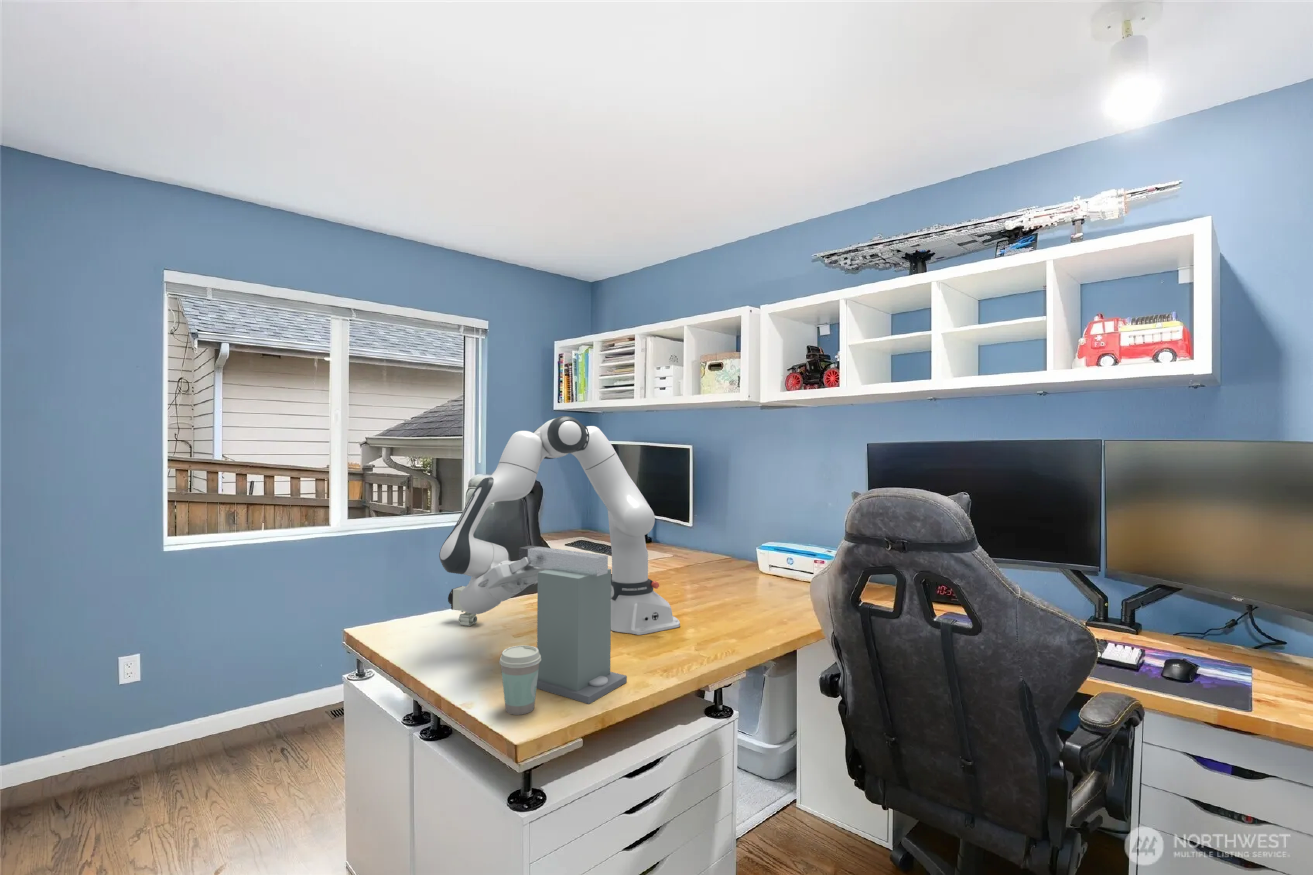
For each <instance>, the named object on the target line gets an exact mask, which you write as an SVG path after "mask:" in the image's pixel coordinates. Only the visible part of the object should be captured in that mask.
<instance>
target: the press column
mask: <svg viewBox="0 0 1313 875" xmlns="http://www.w3.org/2000/svg"><path fill="white" fill-rule="evenodd" d="M611 579H612V568H608V573H607V574H603V575H600V576H591V575H585V574H578V573H572V572H565V571H559V570H552V569H548V570H544V571H540V572H538V583H537V601H536V602H537V605H536V606H537V611H536V612H537V617H536V620H537V622H536V626H537V627H536V634H537V635H536V638H537V639H536V648H538V650H539V654H540V655H541V661H540V662H539V671H538V680H537V688H536V690H537V689H538V690H541V691H544V692H548V693H550V694H554V695H558V696H560V697H564V698H568V699H571V700H575V701H578V702H581V703H584V704H588V705H590V704H592V703H593V702H595V701H597V700H598V698H599V699H600V698H602V697H604V696H605V695H607V694H610V692H612V691H614V690H616V689H617V688H619V687H621V686H623V685H625V684H626V683H627V682H628V676H627V675H625V674H622V673H617V672H615V671H614V672H613V671H611V648H612V647H611V641H612V640H611V639H612V637H611V633H612V630H611Z"/></svg>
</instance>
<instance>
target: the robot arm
mask: <svg viewBox="0 0 1313 875" xmlns="http://www.w3.org/2000/svg"><path fill="white" fill-rule="evenodd" d="M507 441H508V442H507V443H506V445H505V447H504V449H503V451H502V452H501V453H502V454H501V456H500V458H499V461H498V463H497V466H496V469H495V470H494V471H493V472H492V474H491V475H490V476H489V477H488V476H487V477H484V478H483V479H482V480H481V481H479V483H478V485H477V486H476V487H475V489H474V491H473V492H472V494H471V496H470V497H469V499H468V501H467V503H466V504H465V507H464V509H463V510H462V513H461V515H460V516H459V518H458V519H457V522H456V524H455V526H454V527H453V529H452V531H451V532H450V533H449V534H448V536H447V537H446V538H445V540H444V542H443V543H442V546H441V548H440V550H439V555H438V557H439V561H440V563H441V565H442V567H443V569H444V570H445V571H446V572H447V573H451V574H458V575H465V576H469V577H471V578H470V580H469V582H468V584H467V585H466V587H465V588H464V589H463V590H462V592H461V593H460V595H459V602H460V605H461V606H462V608H463V609H464V610H465V611H467V612H469V613H471V614H476V615H480V614H484V613H486V612H488V611H491V610H492V609H494V608H496V607H498V606H500V604H501V603H502V602H505V601H507V600H509V599H511V598H513V597H514V596H516V595H517V594H519V593H521V592H522V591H524V590H526V589H527V588H530V587H533V586H534V585H536V584H538V572H540V571H544V570H548V569H546V568H540V567H533V566H528V565H529V564H531V560H530V557H525V558H523V559H521V560H519V559H518V560H513V561H511V556H510V553H509V551H508V549H507V548H506V547H505V546H502V545H499V544H497V543H493V542H490V541H486V540H484V539H483V540H482V539H479V538H478V537H477V538H476V537H475V536H474V534H475V532H476V530H477V529H478V528H477V527H478V526H479V524H480V522H481V520H482V517H483V516H484V514H485V513H486V510H487V509H488V508H489V507H490V506H491V505H492V504H494V503H498V502H508V501H510V502H511V501H517V500H520V499H522V498H525V497H526V496H527V495H528V494H530V492H531V491H532V490H533V487H534V486H535V482H536V480H537V476H538V474H539V470H540V466H541V463H542V462H543V461H544V459H546V460H553V459H556V458H557V459H558V458H563V457H565V456H567V455H569V454H570V455H572V456H574V457H575V458H576V460H577V461H578V462H579V464H580V466H581V468H582V469H583V471H584V473H585V475H586V477H587V478H588V480H589V482H590V484H591V485H592V488H593V490H594V491H595V493H596V495H597V496H598V497H599V499H600V500H601V501H602V503H603V504H604V505H605V507H606V509H607V516H608V528H609V540H610V547H611V548H610V549H611V631H613V632H618V633H624V634H625V633H627V634H633V635H638V636H642V635H646V634H652V633H657V632H661V631H667V630H671V629H677V628H680V626H681V623H680V620H679V618H677V617H676V616H673V609H672V606H671V605H670V603H669V601H668V600H666V599H665V598H664V597H662V596H661V595H660V594H658V592H656V591H655V590H654V589H659V587H660V582H658V581H656V580H652V579H650V578H649V553H648V552H649V551H648V548H647V542H646V536H645V535H648V534H649V533H650V532H651V531H652V530H653V528H654V526H655V522H656V516H655V513H654V511H653V509H652V508H651V507H650V504H649V503H648V501H647V499H646V498H645V497H644V495H643V493H641V491H640V489H639V488H638V486H637V485H636V484H635V482H634V481H633V480H632V478H631V476H630V475H629V473H628V471H627V470H626V468H625V466H624V465H623V462H622V461H621V459H620V457H619V455H618V453H617V452H616V450H615V449H614V446H613V445H612V443H611V442H610V440H609V439H608V437H607V436H606V435H605V434H604V432H603V431H602V430H601V429H600V428H599V427H598V426H595V425H587V426H586V425H584V424H582V423H581V422H580V421H579V420H578V419H577V418H575V417H572V416H568V415H567V416H566V415H563V416H562V415H561V416H558V417H556V418H553V419H549V420H548V421H546V422H545V423H544V424H542V425H539V426H538V427H537V428H536V429H535V430H534V431H533V432H532V431H529V430H518V431H516V432H514V433H513V434H512V435H511V436H510V438H509V439H508V440H507Z"/></svg>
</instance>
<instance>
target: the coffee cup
mask: <svg viewBox="0 0 1313 875" xmlns="http://www.w3.org/2000/svg"><path fill="white" fill-rule="evenodd" d="M540 661H541V655H540V654H539V650H538V648H537V646H531V645H525V644H524V645H514V646H510V647H507V648H505V649H504V650H503V651H502V652H501V655H500V658H499V662H498V663H499V665H500V668H501V677H502V679H501V680H502V686H503V698H504V707H505V712H507V714H509V715H515V716H516V715H517V716H522V715H525V714H529V713H532V711H534V709H535V704H536V696H537V680H538V671H539V662H540Z"/></svg>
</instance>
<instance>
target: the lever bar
mask: <svg viewBox="0 0 1313 875" xmlns="http://www.w3.org/2000/svg"><path fill="white" fill-rule="evenodd" d="M525 557H530V560H531V564H529V565H528V566H533V567H540V568H546V569H552V570H559V571H565V572H572V573H578V574H585V575H591V576H600V575H603V574H607V573H608V569H609V568H608V567H609V566H608V565H609V563H608V562H609V556H608V555H607V554H606V555H605V554H598V553H590V552H581V551H576V550H568V549H561V548H560V549H559V548H553V547H544V546H537V545H527V546H522V547H519V548H518V560H521V559H523V558H525Z"/></svg>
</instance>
